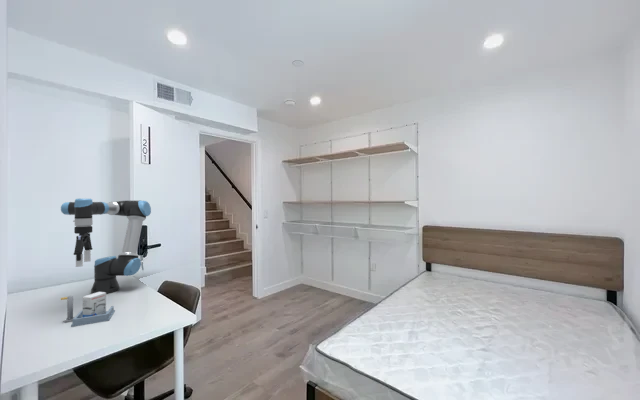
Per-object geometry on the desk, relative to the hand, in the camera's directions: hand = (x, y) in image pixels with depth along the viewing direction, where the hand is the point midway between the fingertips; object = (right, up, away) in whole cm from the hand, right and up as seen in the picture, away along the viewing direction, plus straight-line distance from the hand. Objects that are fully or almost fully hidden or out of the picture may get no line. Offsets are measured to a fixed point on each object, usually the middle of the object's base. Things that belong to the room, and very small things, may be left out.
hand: (83, 264), depth 148 cm
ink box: (+13, -26, -8) cm, 30 cm away
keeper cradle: (+11, -27, -10) cm, 31 cm away
